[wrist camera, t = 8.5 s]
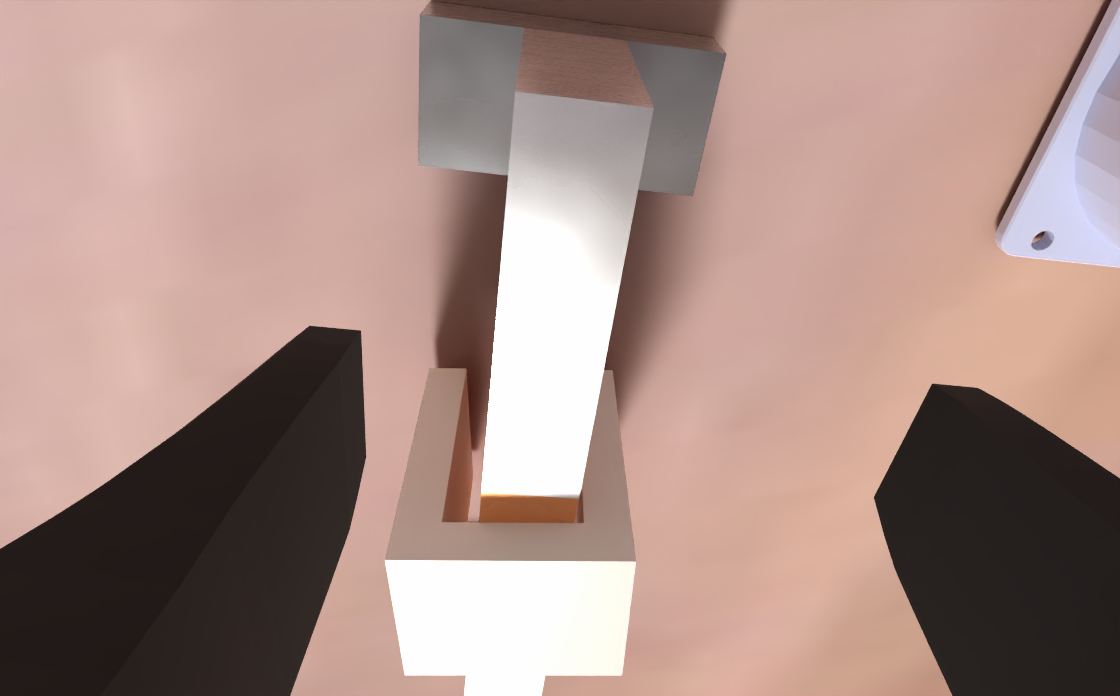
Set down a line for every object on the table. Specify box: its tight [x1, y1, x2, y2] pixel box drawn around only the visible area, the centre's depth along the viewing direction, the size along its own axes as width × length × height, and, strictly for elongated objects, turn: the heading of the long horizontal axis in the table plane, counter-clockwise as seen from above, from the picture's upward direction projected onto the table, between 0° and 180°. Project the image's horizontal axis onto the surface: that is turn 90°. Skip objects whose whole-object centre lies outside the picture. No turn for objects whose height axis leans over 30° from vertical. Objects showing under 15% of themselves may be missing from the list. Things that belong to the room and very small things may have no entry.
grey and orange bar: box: [418, 1, 726, 696], centre depth 18 cm, size 6×20×6 cm, turn 173°
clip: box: [385, 368, 636, 676], centre depth 18 cm, size 5×4×6 cm
